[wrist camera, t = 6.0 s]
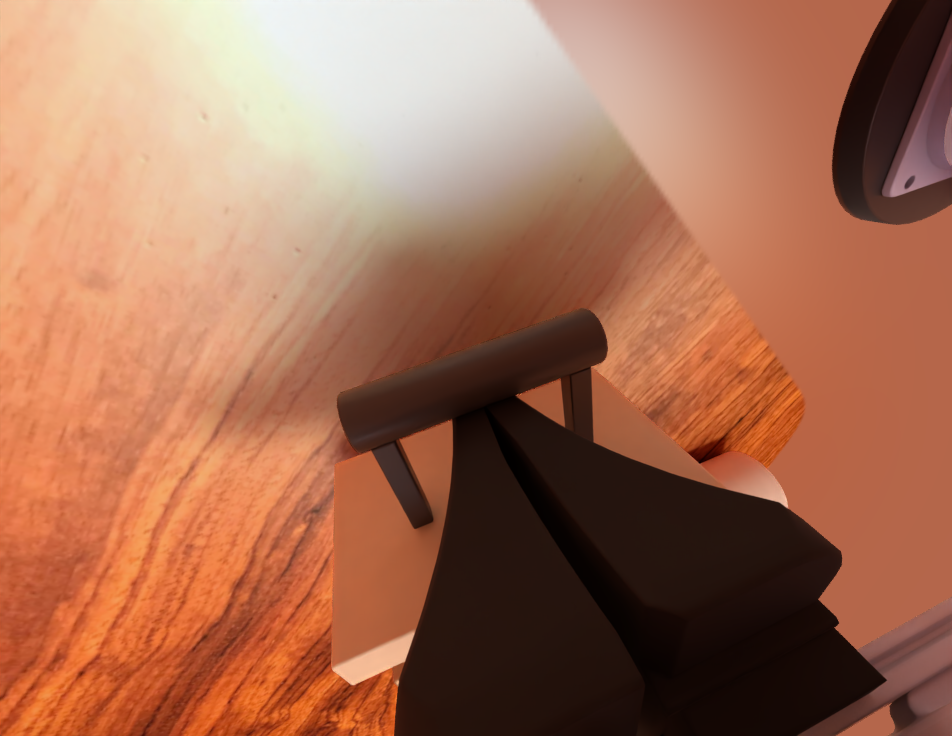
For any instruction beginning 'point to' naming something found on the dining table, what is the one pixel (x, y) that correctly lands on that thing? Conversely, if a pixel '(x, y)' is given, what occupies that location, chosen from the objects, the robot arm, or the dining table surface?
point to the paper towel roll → (745, 476)
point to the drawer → (430, 465)
